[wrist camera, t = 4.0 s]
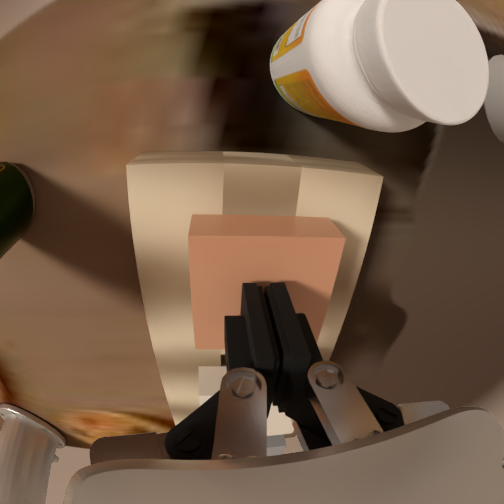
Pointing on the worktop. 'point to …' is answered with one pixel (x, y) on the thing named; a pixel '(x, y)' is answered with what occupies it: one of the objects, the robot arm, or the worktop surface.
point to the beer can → (14, 205)
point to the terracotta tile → (259, 266)
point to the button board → (233, 203)
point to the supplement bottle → (383, 63)
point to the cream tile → (211, 384)
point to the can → (495, 96)
